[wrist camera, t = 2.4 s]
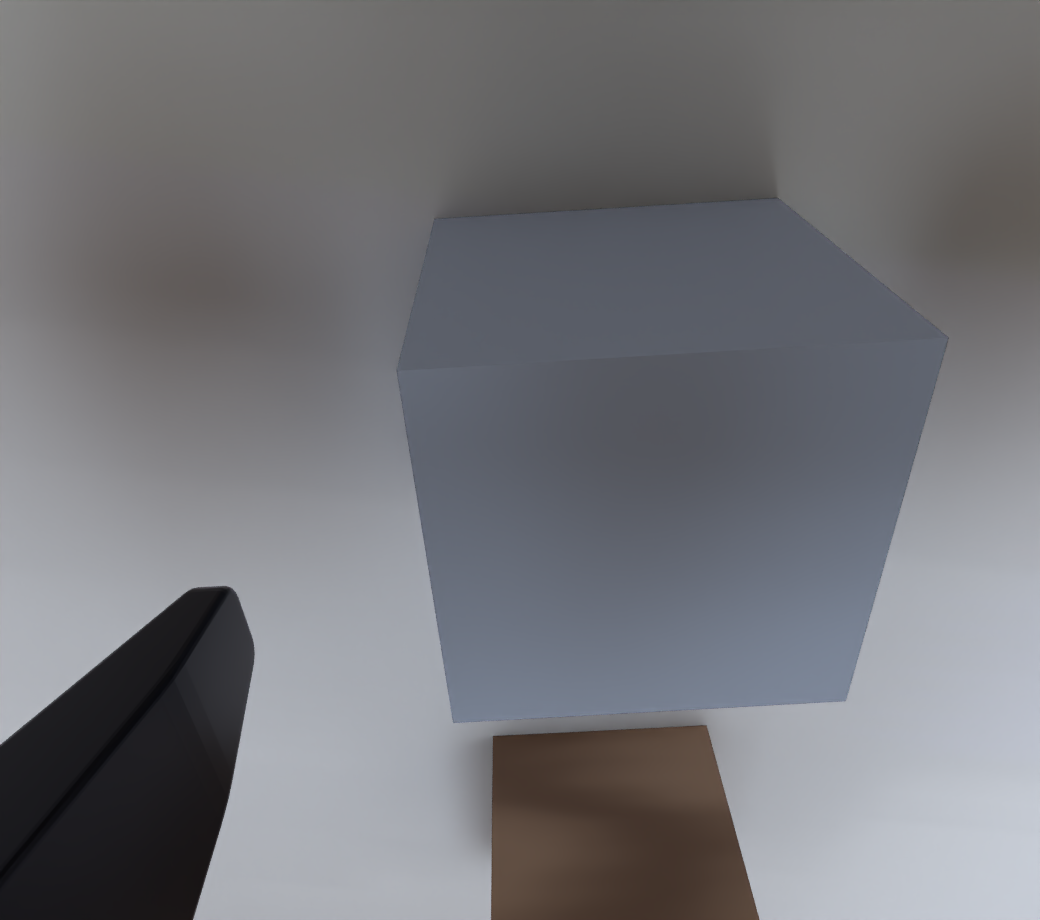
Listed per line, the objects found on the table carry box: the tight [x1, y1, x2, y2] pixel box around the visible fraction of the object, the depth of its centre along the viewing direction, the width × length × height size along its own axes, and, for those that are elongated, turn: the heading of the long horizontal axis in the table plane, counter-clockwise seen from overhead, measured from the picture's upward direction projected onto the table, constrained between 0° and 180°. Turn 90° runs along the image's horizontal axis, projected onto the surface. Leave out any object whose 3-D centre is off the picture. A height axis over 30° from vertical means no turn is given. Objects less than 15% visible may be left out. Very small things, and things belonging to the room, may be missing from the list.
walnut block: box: [491, 726, 759, 920], centre depth 17 cm, size 5×5×5 cm
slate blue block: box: [397, 198, 948, 723], centre depth 10 cm, size 5×5×5 cm
